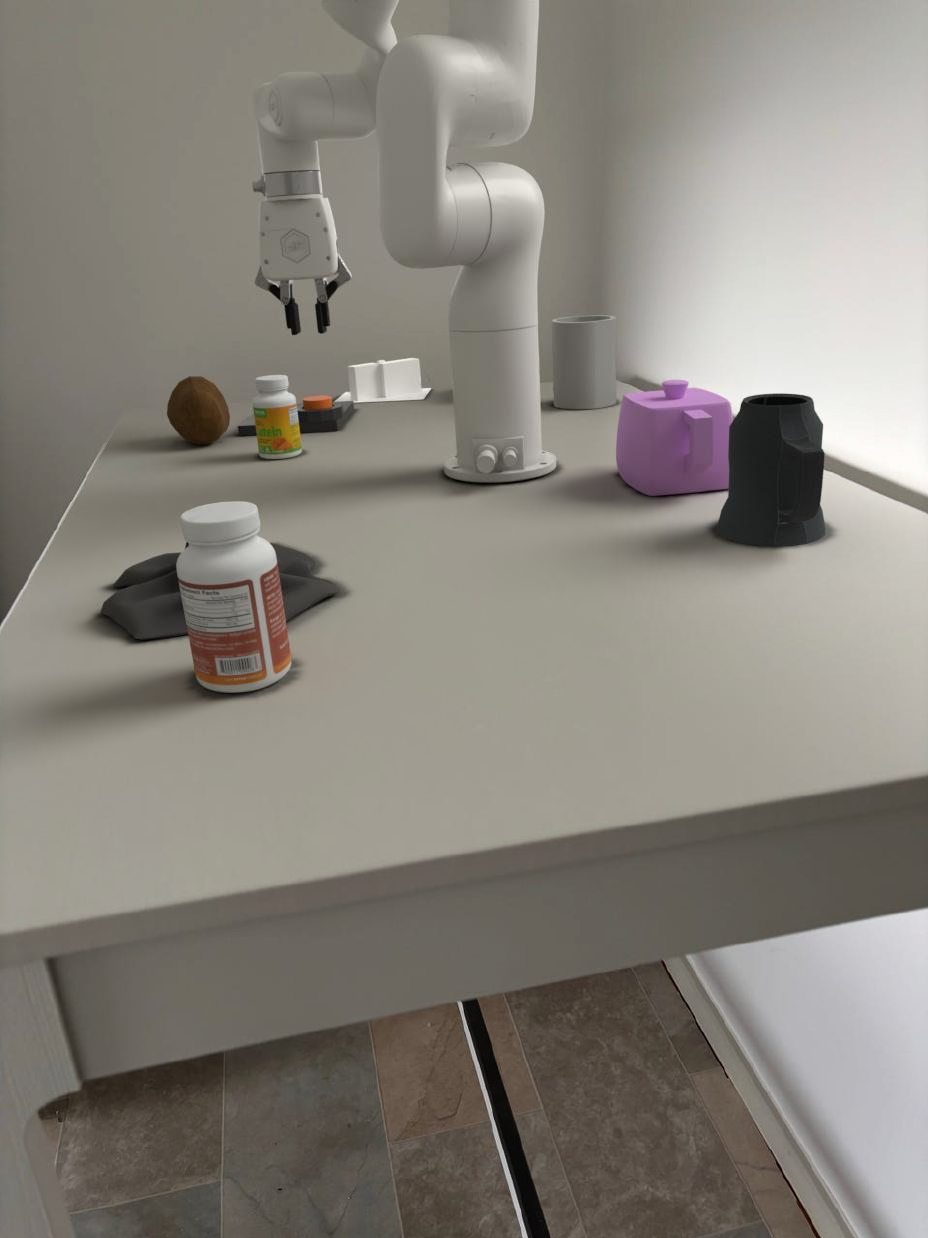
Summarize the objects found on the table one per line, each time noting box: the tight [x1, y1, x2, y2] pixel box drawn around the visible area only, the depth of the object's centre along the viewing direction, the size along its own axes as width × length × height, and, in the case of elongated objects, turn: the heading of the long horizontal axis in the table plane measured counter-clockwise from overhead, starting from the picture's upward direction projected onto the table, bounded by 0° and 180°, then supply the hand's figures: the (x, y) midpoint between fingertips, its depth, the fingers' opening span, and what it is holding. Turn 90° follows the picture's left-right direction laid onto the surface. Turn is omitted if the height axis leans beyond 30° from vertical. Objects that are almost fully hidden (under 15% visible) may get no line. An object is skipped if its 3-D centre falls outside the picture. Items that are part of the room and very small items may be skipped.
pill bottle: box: [176, 500, 292, 694], centre depth 64 cm, size 6×6×11 cm
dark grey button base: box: [237, 401, 355, 437], centre depth 149 cm, size 16×14×3 cm
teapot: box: [615, 379, 734, 497], centre depth 104 cm, size 18×10×10 cm, turn 8°
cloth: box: [100, 541, 340, 641], centre depth 81 cm, size 22×19×6 cm
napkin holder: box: [333, 357, 432, 404], centre depth 167 cm, size 15×11×6 cm
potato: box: [166, 375, 231, 445], centre depth 139 cm, size 8×12×9 cm
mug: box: [715, 392, 826, 547], centre depth 85 cm, size 12×9×11 cm
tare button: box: [302, 395, 333, 410], centre depth 144 cm, size 4×4×2 cm
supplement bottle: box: [252, 374, 303, 460], centre depth 128 cm, size 5×5×10 cm
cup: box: [551, 314, 617, 410], centre depth 148 cm, size 9×9×12 cm
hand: (309, 331), depth 140 cm, fingers open, 3 cm apart
